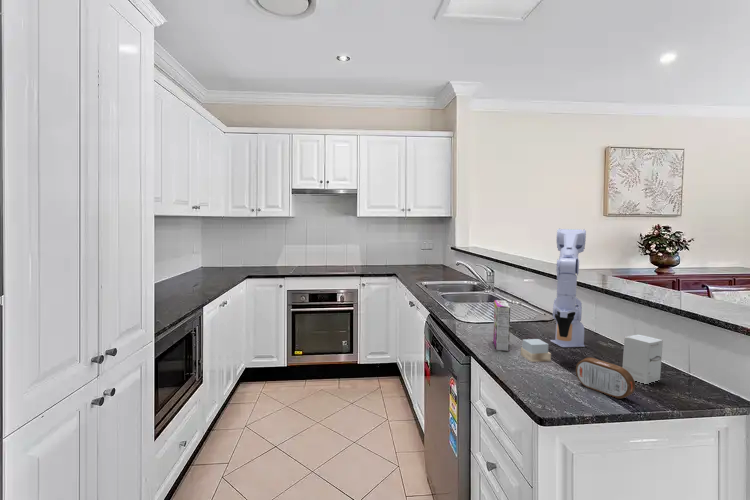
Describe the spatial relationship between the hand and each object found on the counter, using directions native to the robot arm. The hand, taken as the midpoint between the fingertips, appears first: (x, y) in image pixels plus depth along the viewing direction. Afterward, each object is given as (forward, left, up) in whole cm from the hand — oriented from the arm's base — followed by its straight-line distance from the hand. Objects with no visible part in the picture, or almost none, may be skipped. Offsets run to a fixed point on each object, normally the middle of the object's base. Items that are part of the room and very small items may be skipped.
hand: (564, 334), depth 133 cm
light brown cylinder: (0, 0, -1) cm, 1 cm away
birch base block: (+7, -5, -10) cm, 13 cm away
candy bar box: (+13, -18, -10) cm, 25 cm away
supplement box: (-15, +16, -10) cm, 24 cm away
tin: (+3, +23, -10) cm, 25 cm away
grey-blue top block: (+7, -5, -7) cm, 11 cm away
